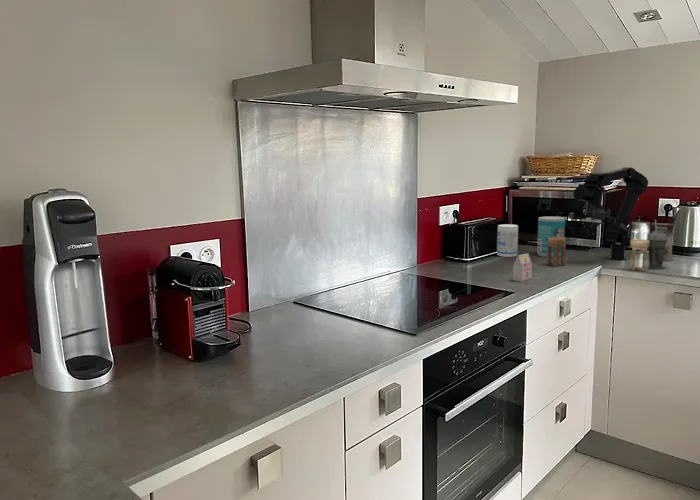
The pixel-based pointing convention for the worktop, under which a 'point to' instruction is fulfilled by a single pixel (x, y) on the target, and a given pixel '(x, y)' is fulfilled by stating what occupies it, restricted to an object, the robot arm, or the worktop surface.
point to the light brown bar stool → (639, 245)
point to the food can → (549, 233)
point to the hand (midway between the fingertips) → (589, 237)
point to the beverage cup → (656, 248)
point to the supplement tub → (507, 240)
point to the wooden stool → (556, 250)
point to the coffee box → (668, 232)
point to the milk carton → (522, 268)
